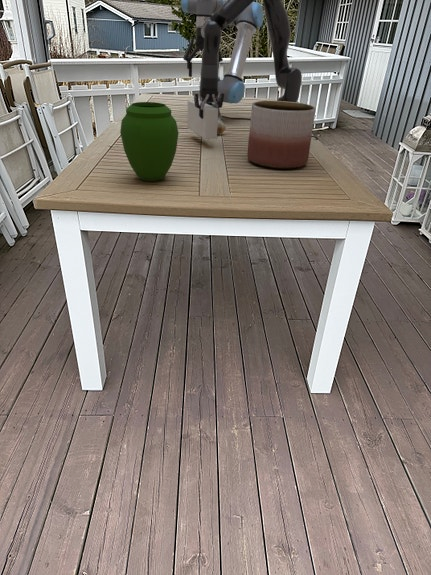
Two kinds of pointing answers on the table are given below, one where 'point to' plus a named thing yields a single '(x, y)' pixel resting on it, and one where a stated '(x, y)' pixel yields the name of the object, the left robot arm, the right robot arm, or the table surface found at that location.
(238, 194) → the table surface
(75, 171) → the table surface
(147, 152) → the vase
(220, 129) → the seashell
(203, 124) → the box
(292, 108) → the planter
